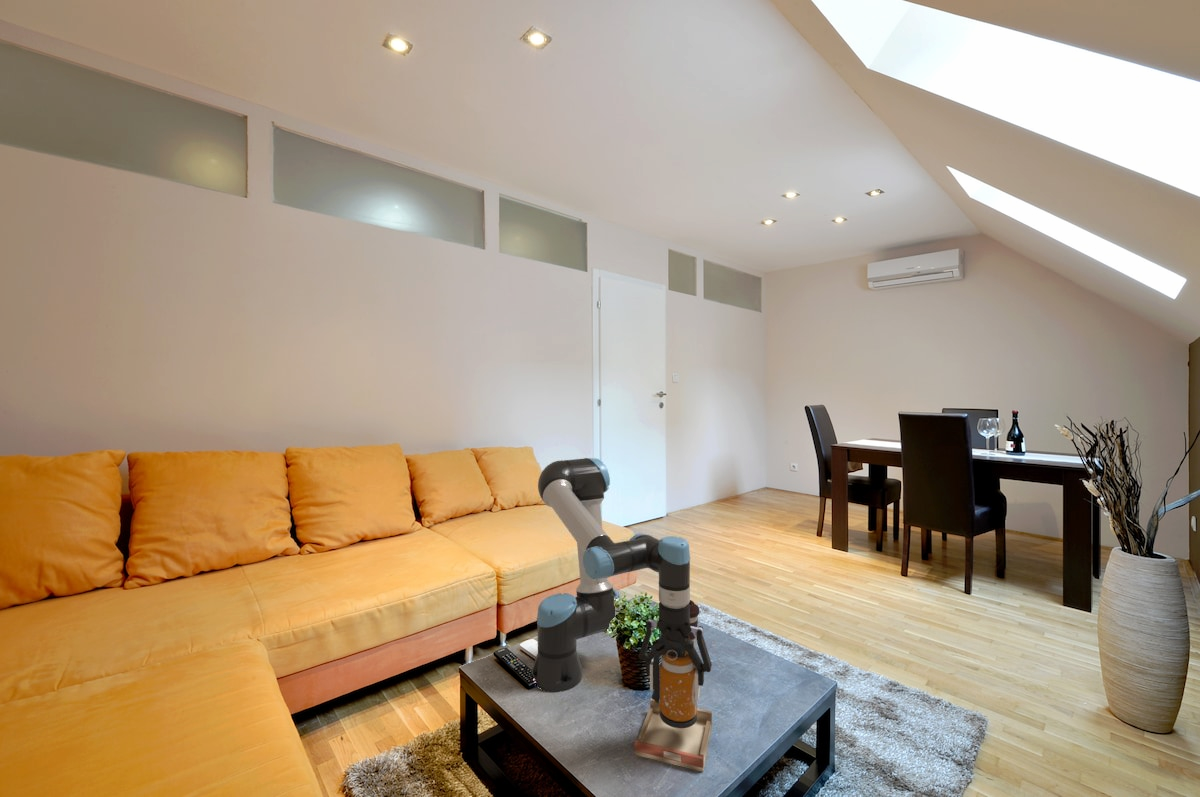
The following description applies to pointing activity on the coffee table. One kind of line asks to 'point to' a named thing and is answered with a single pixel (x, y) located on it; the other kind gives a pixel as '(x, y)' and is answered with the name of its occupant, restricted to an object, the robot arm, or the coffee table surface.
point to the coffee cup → (693, 619)
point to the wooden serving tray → (674, 739)
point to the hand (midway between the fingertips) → (674, 692)
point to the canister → (674, 683)
